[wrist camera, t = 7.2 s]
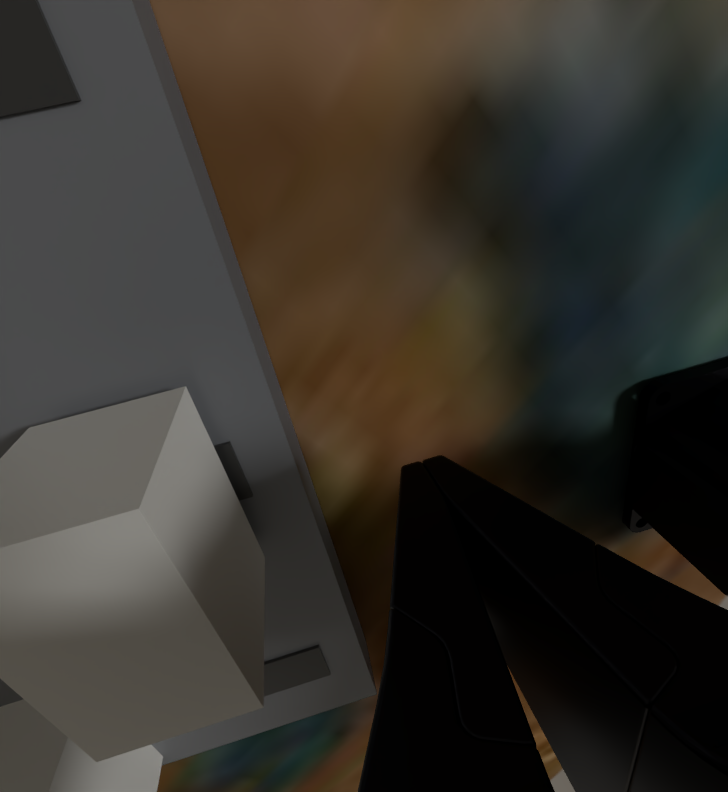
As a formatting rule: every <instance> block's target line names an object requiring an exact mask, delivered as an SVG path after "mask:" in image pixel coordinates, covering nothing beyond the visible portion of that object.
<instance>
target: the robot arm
mask: <svg viewBox="0 0 728 792" xmlns="http://www.w3.org/2000/svg"><path fill="white" fill-rule="evenodd" d="M622 521H623V523H624V524H625V525H626V526H627V527H628V528H629V529H630V530H631V531H632V532H636V533H637V532H642V531H645V530H648V529H651V528H653V529H655V530H656V531H657V532H658V533H659V534H660V535H661V536H662V537H663V538H664V539H665V540H666V541H668V542H669V543H670V544H671V545H672V546H673V547H674V548H675V549H676V550H677V551H678V552H679V553H680V554H682V555H683V556H684V557H685V558H686V559H687V560H688V561H689V562H690V563H691V564H692V565H693V566H694V567H696V568H697V569H698V570H699V571H700V572H701V573H702V574H703V575H704V576H705V577H706V578H707V579H709V580H710V581H711V582H712V583H713V584H714V585H715V586H716V587H717V588H718V589H719V590H720V591H721V592H723V593H724V594H725V595H727V596H728V359H726V360H722V361H719V362H715V363H712V364H708V365H705V366H701V367H698V368H694V369H691V370H688V371H684V372H681V373H677V374H674V375H670V376H667V377H663V378H660V379H656V380H654V381H652V382H650V383H648V384H647V385H646V386H645V387H644V388H643V390H642V391H641V393H640V396H639V402H638V410H637V417H636V424H635V431H634V438H633V446H632V453H631V460H630V467H629V474H628V482H627V489H626V496H625V503H624V510H623V518H622ZM390 609H391V610H390V611H389V621H388V633H387V641H386V650H385V658H384V666H383V672H382V677H381V683H380V688H379V694H378V699H377V705H376V709H375V714H374V719H373V723H372V728H371V733H370V737H369V742H368V747H367V751H366V756H365V760H364V765H363V770H362V774H361V779H360V784H359V788H358V792H555V791H554V789H553V787H552V784H551V782H550V779H549V777H548V774H547V772H546V769H545V767H544V764H543V762H542V759H541V756H540V754H539V751H538V750H537V749H536V742H535V740H534V737H533V734H532V732H531V729H530V726H529V723H528V721H527V718H526V715H525V713H524V710H523V707H522V705H521V702H520V699H519V696H518V694H517V691H516V688H515V686H514V683H513V680H512V677H511V675H510V672H509V669H510V671H511V673H512V675H513V677H514V679H515V680H516V682H517V684H518V686H519V688H520V690H521V692H522V693H523V695H524V697H525V699H526V701H527V703H528V705H529V706H530V708H531V710H532V712H533V714H534V716H535V718H536V719H537V721H538V723H539V725H540V727H541V729H542V731H543V732H544V734H545V736H546V738H547V740H548V742H549V744H550V745H551V747H552V749H553V751H554V753H555V755H556V757H557V758H558V760H559V762H560V764H561V766H562V768H563V770H564V771H565V773H566V775H567V777H568V779H569V781H570V782H571V784H572V786H573V788H574V790H575V792H728V610H726V609H724V608H722V607H720V606H718V605H716V604H714V603H711V602H709V601H707V600H705V599H703V598H701V597H699V596H697V595H695V594H693V593H690V592H688V591H686V590H684V589H682V588H680V587H678V586H676V585H674V584H672V583H670V582H668V581H666V580H664V579H662V578H660V577H658V576H656V575H654V574H652V573H650V572H648V571H647V570H645V569H643V568H641V567H639V566H637V565H636V564H634V563H632V562H630V561H628V560H626V559H624V558H623V557H621V556H619V555H617V554H615V553H614V552H612V551H610V550H608V549H607V548H605V547H603V546H601V545H599V544H597V545H596V546H595V542H594V541H592V540H590V539H589V538H587V537H585V536H583V535H582V534H580V533H578V532H576V531H575V530H573V529H571V528H569V527H568V526H566V525H564V524H562V523H561V522H559V521H557V520H555V519H554V518H552V517H550V516H548V515H547V514H545V513H543V512H541V511H539V510H538V509H536V508H534V507H532V506H531V505H529V504H527V503H525V502H524V501H522V500H520V499H518V498H517V497H515V496H513V495H511V494H510V493H508V492H506V491H504V490H503V489H501V488H499V487H497V486H496V485H494V484H492V483H490V482H488V481H487V480H485V479H483V478H481V477H480V476H478V475H476V474H474V473H473V472H471V471H469V470H467V469H466V468H464V467H462V466H460V465H459V464H457V463H455V462H453V461H452V460H450V459H448V458H446V457H445V456H442V455H439V456H435V457H432V458H428V459H425V460H424V461H423V462H414V463H411V464H407V465H404V466H403V467H402V468H401V476H400V489H399V501H398V513H397V526H396V538H395V550H394V563H393V575H392V588H391V600H390ZM507 666H508V667H509V669H508V667H507Z"/></svg>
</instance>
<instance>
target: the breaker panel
mask: <svg viewBox="0 0 728 792" xmlns="http://www.w3.org/2000/svg"><path fill="white" fill-rule="evenodd" d="M184 386H186V388H187V390H188V392H189V394H190V396H191V398H192V400H193V403H194V405H195V407H196V409H197V411H198V413H199V416H200V418H201V420H202V422H203V424H204V426H205V429H206V431H207V433H208V435H209V437H210V439H211V442H212V444H213V446H214V448H215V450H216V452H217V455H218V457H219V459H220V461H221V463H222V465H223V468H224V470H225V472H226V474H227V476H228V478H229V481H230V483H231V485H232V487H233V489H234V491H235V494H236V496H237V498H238V500H239V502H240V504H241V507H242V509H243V511H244V513H245V515H246V517H247V519H248V522H249V524H250V526H251V528H252V530H253V532H254V535H255V537H256V539H257V541H258V543H259V545H260V548H261V550H262V552H263V554H264V556H265V595H264V708H261V709H258V710H255V711H252V712H249V713H246V714H243V715H240V716H237V717H234V718H231V719H227V720H224V721H221V722H218V723H215V724H212V725H209V726H206V727H203V728H200V729H197V730H194V731H191V732H188V733H185V734H182V735H179V736H175V737H172V738H169V739H166V740H163V741H160V742H157V743H154V744H151V745H148V746H145V747H142V748H139V749H136V750H133V751H130V752H127V753H123V754H120V755H117V756H114V757H111V758H108V759H105V760H102V761H99V762H96V761H95V760H93V759H92V758H91V757H90V756H89V755H88V754H87V753H85V752H84V751H83V750H82V749H81V748H80V747H78V746H77V745H76V744H75V743H74V742H73V741H72V740H70V739H69V738H68V737H67V736H66V735H65V734H63V733H62V732H61V731H60V730H59V729H58V728H57V727H55V726H54V725H53V724H52V723H51V722H50V721H48V720H47V719H46V718H45V717H44V716H43V715H42V714H40V713H39V712H38V711H37V710H36V709H35V708H33V707H32V706H31V705H30V704H29V703H28V702H27V701H25V700H24V699H23V698H22V697H21V696H20V695H18V694H17V693H16V692H15V691H14V690H13V689H12V688H10V687H9V686H8V685H7V684H6V683H5V682H3V681H2V680H1V679H0V792H157V788H158V783H159V777H160V771H161V766H162V765H165V764H168V763H171V762H174V761H177V760H180V759H183V758H186V757H189V756H192V755H195V754H198V753H201V752H204V751H207V750H210V749H213V748H216V747H219V746H222V745H225V744H228V743H231V742H234V741H237V740H240V739H243V738H246V737H249V736H252V735H255V734H258V733H261V732H264V731H267V730H270V729H273V728H276V727H279V726H282V725H285V724H288V723H292V722H295V721H298V720H301V719H304V718H307V717H310V716H313V715H316V714H319V713H322V712H325V711H328V710H331V709H334V708H337V707H340V706H343V705H346V704H349V703H352V702H355V701H358V700H361V699H364V698H367V697H370V696H373V695H376V694H377V692H376V687H375V682H374V677H373V673H372V668H371V663H370V658H369V653H368V649H367V644H366V640H365V637H364V634H363V631H362V628H361V625H360V622H359V619H358V616H357V613H356V610H355V607H354V604H353V601H352V599H351V596H350V593H349V590H348V587H347V584H346V581H345V578H344V575H343V572H342V569H341V566H340V563H339V560H338V557H337V554H336V551H335V548H334V545H333V542H332V539H331V536H330V533H329V531H328V528H327V525H326V522H325V519H324V516H323V513H322V510H321V507H320V504H319V501H318V498H317V495H316V492H315V489H314V486H313V483H312V480H311V477H310V474H309V471H308V468H307V465H306V462H305V460H304V457H303V454H302V451H301V448H300V445H299V442H298V439H297V436H296V433H295V430H294V427H293V424H292V421H291V418H290V415H289V412H288V409H287V406H286V403H285V400H284V397H283V394H282V392H281V389H280V386H279V383H278V380H277V377H276V374H275V371H274V368H273V365H272V362H271V359H270V356H269V353H268V350H267V347H266V344H265V341H264V338H263V335H262V332H261V329H260V326H259V324H258V321H257V318H256V315H255V312H254V309H253V306H252V303H251V300H250V297H249V294H248V291H247V288H246V285H245V282H244V279H243V276H242V273H241V270H240V267H239V264H238V261H237V258H236V256H235V253H234V250H233V247H232V244H231V241H230V238H229V235H228V232H227V229H226V226H225V223H224V220H223V217H222V214H221V211H220V208H219V205H218V202H217V199H216V196H215V193H214V190H213V188H212V185H211V182H210V179H209V176H208V173H207V170H206V167H205V164H204V161H203V158H202V155H201V152H200V149H199V146H198V143H197V140H196V137H195V134H194V131H193V128H192V125H191V122H190V119H189V117H188V114H187V111H186V108H185V105H184V102H183V99H182V96H181V93H180V90H179V87H178V84H177V81H176V78H175V75H174V72H173V69H172V66H171V63H170V60H169V57H168V54H167V51H166V49H165V46H164V43H163V40H162V37H161V34H160V31H159V28H158V25H157V22H156V19H155V16H154V13H153V10H152V7H151V4H150V1H149V0H0V458H1V457H2V456H3V455H4V454H5V453H6V452H7V451H8V450H9V449H10V448H11V446H12V445H13V444H14V443H15V442H16V441H17V440H18V439H19V438H20V437H21V436H22V435H23V434H24V432H25V431H26V430H27V429H28V428H30V427H33V426H37V425H41V424H45V423H49V422H52V421H56V420H60V419H64V418H67V417H71V416H75V415H79V414H83V413H86V412H90V411H94V410H98V409H101V408H105V407H109V406H113V405H117V404H120V403H124V402H128V401H132V400H135V399H139V398H143V397H147V396H150V395H154V394H158V393H162V392H166V391H169V390H173V389H177V388H181V387H184Z"/></svg>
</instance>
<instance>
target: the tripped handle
mask: <svg viewBox="0 0 728 792" xmlns="http://www.w3.org/2000/svg"><path fill="white" fill-rule="evenodd" d="M264 595H265V556H264V554H263V552H262V550H261V548H260V545H259V543H258V541H257V539H256V537H255V535H254V532H253V530H252V528H251V526H250V524H249V522H248V519H247V517H246V515H245V513H244V511H243V509H242V507H241V504H240V502H239V500H238V498H237V496H236V494H235V491H234V489H233V487H232V485H231V483H230V481H229V478H228V476H227V474H226V472H225V470H224V468H223V465H222V463H221V461H220V459H219V457H218V455H217V452H216V450H215V448H214V446H213V444H212V442H211V439H210V437H209V435H208V433H207V431H206V429H205V426H204V424H203V422H202V420H201V418H200V416H199V413H198V411H197V409H196V407H195V405H194V403H193V400H192V398H191V396H190V394H189V392H188V390H187V388H186V386H184V387H181V388H177V389H173V390H169V391H166V392H162V393H158V394H154V395H150V396H147V397H143V398H139V399H135V400H132V401H128V402H124V403H120V404H117V405H113V406H109V407H105V408H101V409H98V410H94V411H90V412H86V413H83V414H79V415H75V416H71V417H67V418H64V419H60V420H56V421H52V422H49V423H45V424H41V425H37V426H33V427H30V428H28V429H27V430H26V431H25V432H24V434H23V435H22V436H21V437H20V438H19V439H18V440H17V441H16V442H15V443H14V444H13V445H12V446H11V448H10V449H9V450H8V451H7V452H6V453H5V454H4V455H3V456H2V457H1V458H0V679H1V680H2V681H3V682H5V683H6V684H7V685H8V686H9V687H10V688H12V689H13V690H14V691H15V692H16V693H17V694H18V695H20V696H21V697H22V698H23V699H24V700H25V701H27V702H28V703H29V704H30V705H31V706H32V707H33V708H35V709H36V710H37V711H38V712H39V713H40V714H42V715H43V716H44V717H45V718H46V719H47V720H48V721H50V722H51V723H52V724H53V725H54V726H55V727H57V728H58V729H59V730H60V731H61V732H62V733H63V734H65V735H66V736H67V737H68V738H69V739H70V740H72V741H73V742H74V743H75V744H76V745H77V746H78V747H80V748H81V749H82V750H83V751H84V752H85V753H87V754H88V755H89V756H90V757H91V758H92V759H93V760H95V761H96V762H99V761H102V760H105V759H108V758H111V757H114V756H117V755H120V754H123V753H127V752H130V751H133V750H136V749H139V748H142V747H145V746H148V745H151V744H154V743H157V742H160V741H163V740H166V739H169V738H172V737H175V736H179V735H182V734H185V733H188V732H191V731H194V730H197V729H200V728H203V727H206V726H209V725H212V724H215V723H218V722H221V721H224V720H227V719H231V718H234V717H237V716H240V715H243V714H246V713H249V712H252V711H255V710H258V709H261V708H264Z"/></svg>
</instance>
